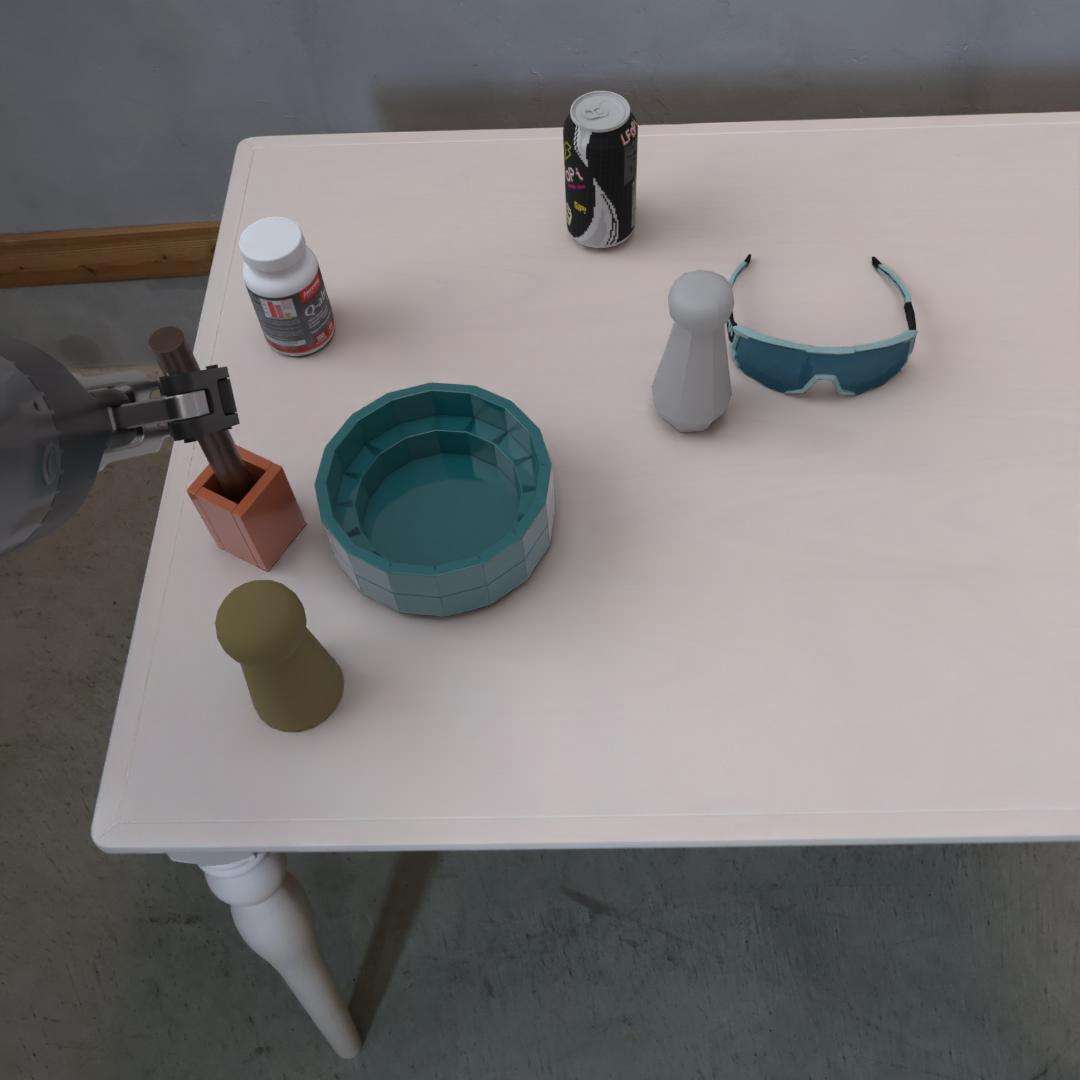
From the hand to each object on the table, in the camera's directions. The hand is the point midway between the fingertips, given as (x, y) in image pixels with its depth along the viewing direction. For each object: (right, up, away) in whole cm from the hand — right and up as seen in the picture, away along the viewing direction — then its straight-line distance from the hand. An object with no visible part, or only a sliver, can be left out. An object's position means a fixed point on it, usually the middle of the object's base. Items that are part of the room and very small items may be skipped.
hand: (102, 416), depth 52 cm
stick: (0, -5, +28) cm, 29 cm away
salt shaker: (+31, +4, +33) cm, 45 cm away
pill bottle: (+1, +11, +39) cm, 40 cm away
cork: (+4, -16, +22) cm, 27 cm away
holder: (0, -5, +29) cm, 29 cm away
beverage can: (+25, +20, +43) cm, 54 cm away
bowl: (+13, -4, +28) cm, 32 cm away
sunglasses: (+42, +11, +36) cm, 56 cm away
